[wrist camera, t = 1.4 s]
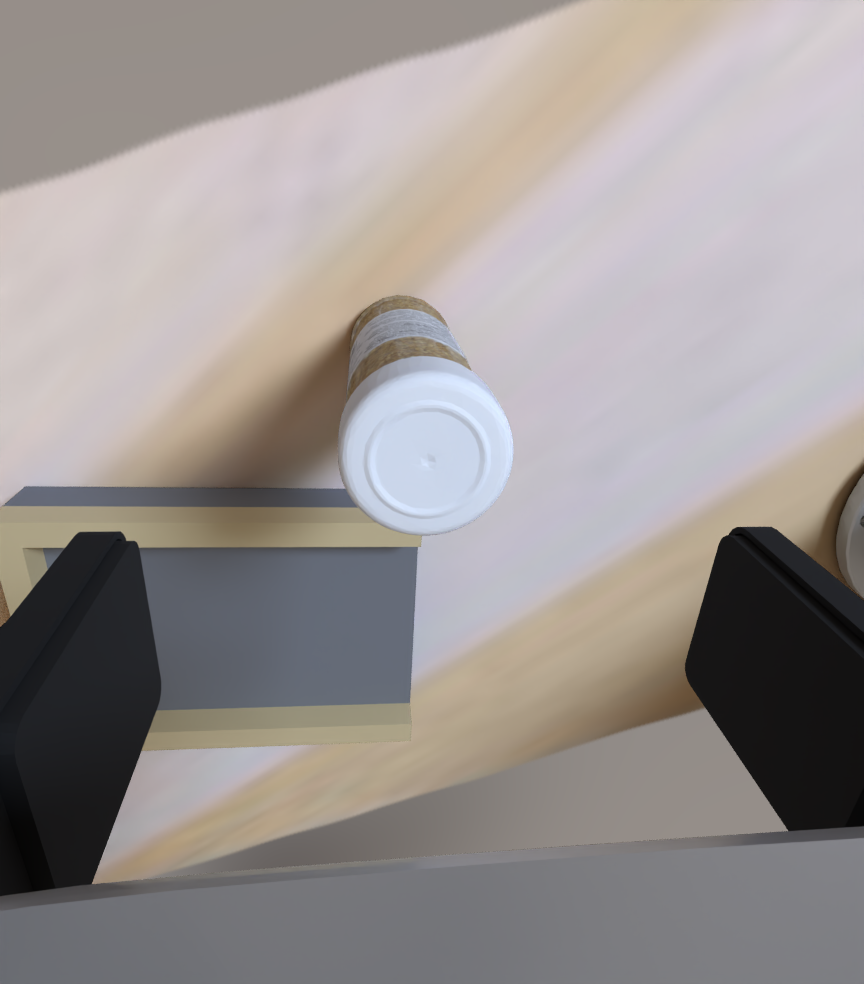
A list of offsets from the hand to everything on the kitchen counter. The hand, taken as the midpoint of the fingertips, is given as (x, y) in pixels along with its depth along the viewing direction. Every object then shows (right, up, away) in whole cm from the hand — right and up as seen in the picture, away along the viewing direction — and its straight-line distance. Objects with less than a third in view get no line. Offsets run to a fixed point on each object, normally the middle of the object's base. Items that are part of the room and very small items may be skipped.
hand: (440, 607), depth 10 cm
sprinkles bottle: (-2, +8, +18) cm, 20 cm away
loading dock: (-10, -4, +23) cm, 25 cm away
